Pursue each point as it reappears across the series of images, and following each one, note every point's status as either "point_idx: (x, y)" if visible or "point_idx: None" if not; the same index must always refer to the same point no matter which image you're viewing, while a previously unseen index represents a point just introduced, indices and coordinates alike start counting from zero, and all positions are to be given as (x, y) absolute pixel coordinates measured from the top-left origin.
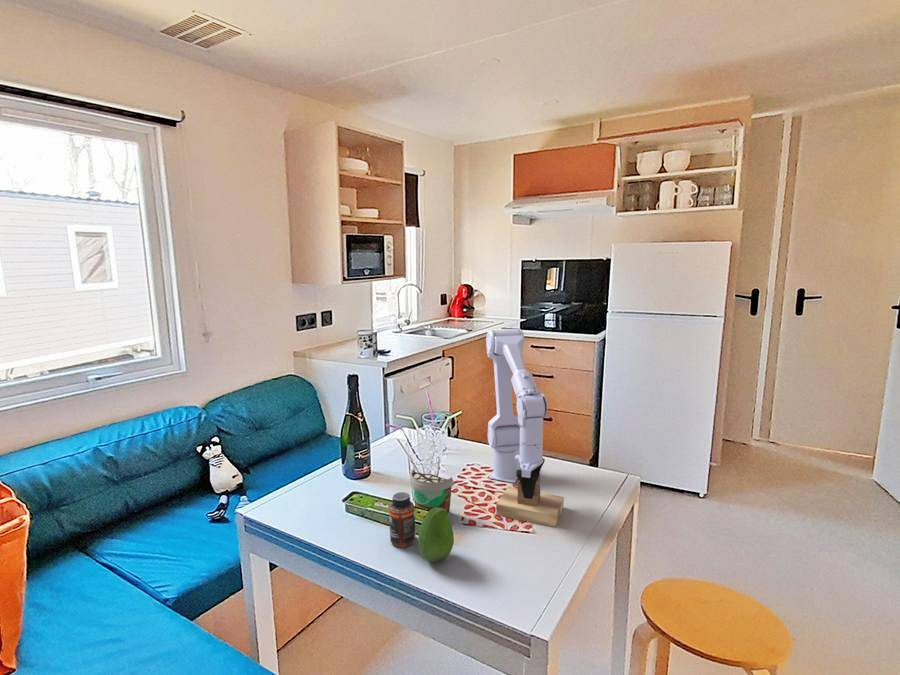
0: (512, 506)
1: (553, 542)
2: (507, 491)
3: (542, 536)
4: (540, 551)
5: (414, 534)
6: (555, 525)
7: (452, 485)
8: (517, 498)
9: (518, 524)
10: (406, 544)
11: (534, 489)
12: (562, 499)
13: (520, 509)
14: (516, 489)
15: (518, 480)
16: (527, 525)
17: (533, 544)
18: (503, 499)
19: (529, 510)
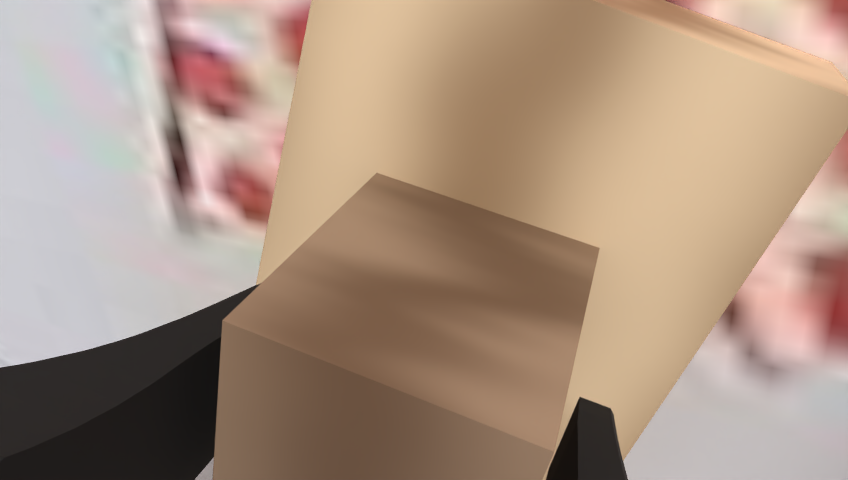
0: (305, 109)
1: (117, 315)
2: (693, 79)
3: (157, 267)
4: (10, 220)
5: None
6: None
7: None
8: (351, 197)
9: (263, 120)
10: None
11: (212, 451)
12: None
13: (280, 185)
14: (745, 212)
15: (259, 340)
16: (263, 191)
17: (58, 192)
18: (454, 7)
19: (263, 265)
